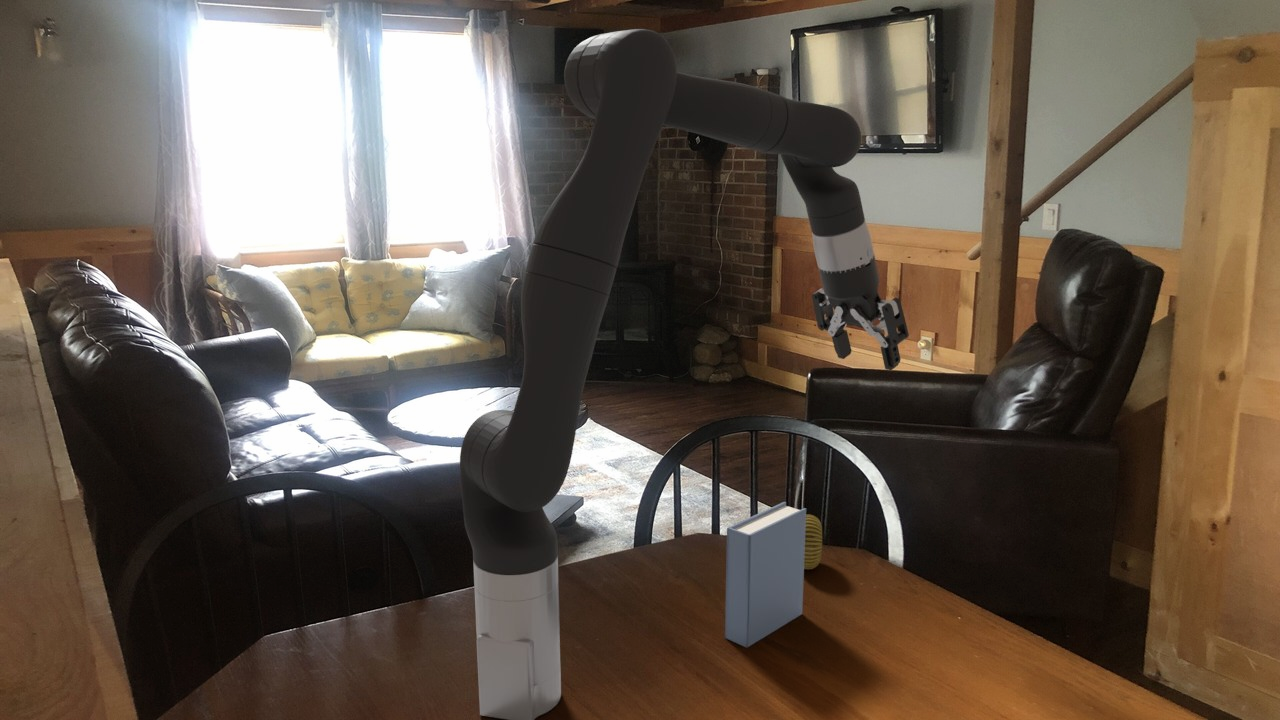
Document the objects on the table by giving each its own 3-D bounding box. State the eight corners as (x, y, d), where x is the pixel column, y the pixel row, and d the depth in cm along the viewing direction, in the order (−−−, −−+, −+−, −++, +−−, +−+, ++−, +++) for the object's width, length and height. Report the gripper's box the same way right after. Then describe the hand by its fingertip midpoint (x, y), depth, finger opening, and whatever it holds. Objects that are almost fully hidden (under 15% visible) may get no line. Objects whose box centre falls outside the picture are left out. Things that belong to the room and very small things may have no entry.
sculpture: (821, 579, 138) (823, 527, 136) (793, 577, 138) (794, 526, 136) (819, 556, 145) (821, 506, 144) (793, 554, 146) (794, 505, 144)
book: (802, 613, 128) (806, 508, 124) (746, 647, 119) (749, 535, 116) (780, 605, 130) (784, 501, 127) (724, 637, 122) (727, 527, 118)
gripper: (787, 263, 131) (813, 365, 138) (868, 274, 120) (892, 384, 127) (824, 240, 135) (847, 341, 142) (906, 249, 124) (926, 358, 130)
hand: (868, 361), depth 134 cm, fingers open, 8 cm apart
